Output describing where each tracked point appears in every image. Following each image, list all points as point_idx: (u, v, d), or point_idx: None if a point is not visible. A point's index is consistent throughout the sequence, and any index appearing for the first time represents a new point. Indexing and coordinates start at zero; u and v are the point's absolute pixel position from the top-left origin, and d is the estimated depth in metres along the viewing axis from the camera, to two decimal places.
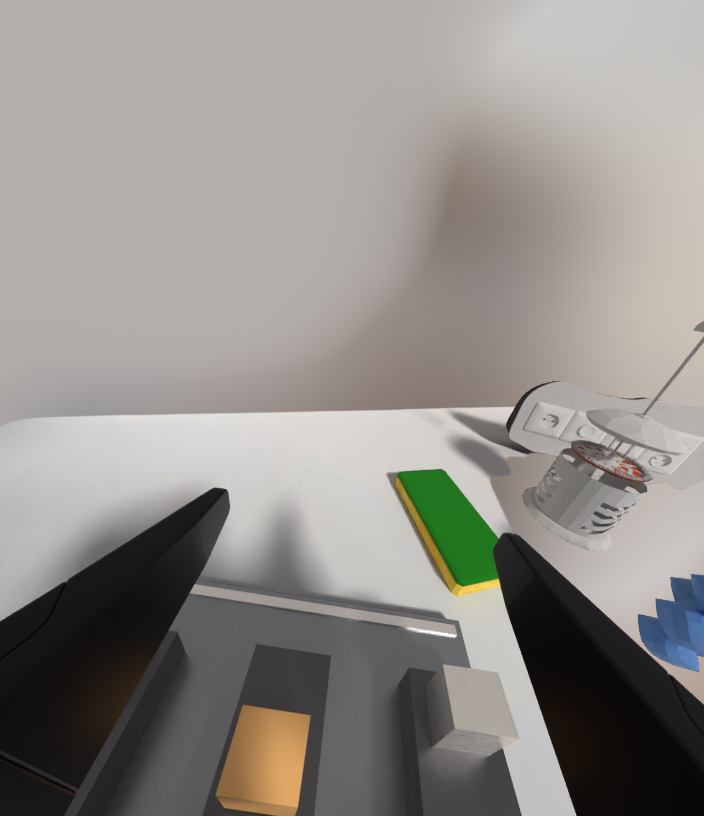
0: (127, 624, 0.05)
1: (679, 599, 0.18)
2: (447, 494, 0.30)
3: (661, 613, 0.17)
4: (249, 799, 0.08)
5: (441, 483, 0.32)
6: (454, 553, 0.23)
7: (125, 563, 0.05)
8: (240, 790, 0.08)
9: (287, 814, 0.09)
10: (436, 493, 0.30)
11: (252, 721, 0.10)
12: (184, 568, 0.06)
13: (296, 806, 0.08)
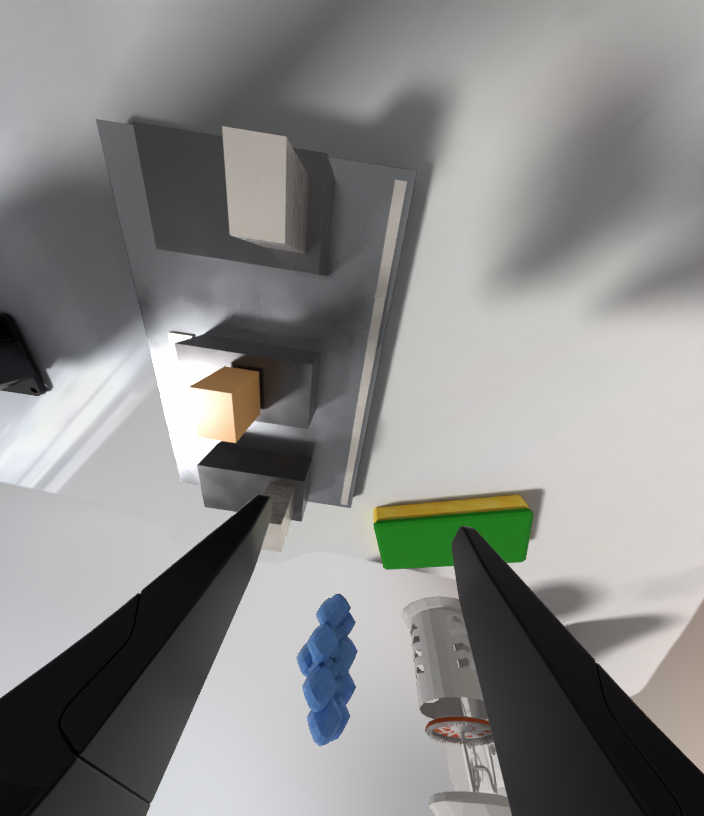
0: (197, 634, 0.05)
1: (339, 650, 0.26)
2: None
3: (329, 637, 0.24)
4: (192, 408, 0.12)
5: (497, 551, 0.24)
6: (402, 530, 0.23)
7: (190, 572, 0.05)
8: (194, 402, 0.12)
9: None
10: None
11: (224, 403, 0.12)
12: (239, 576, 0.06)
13: (198, 435, 0.13)
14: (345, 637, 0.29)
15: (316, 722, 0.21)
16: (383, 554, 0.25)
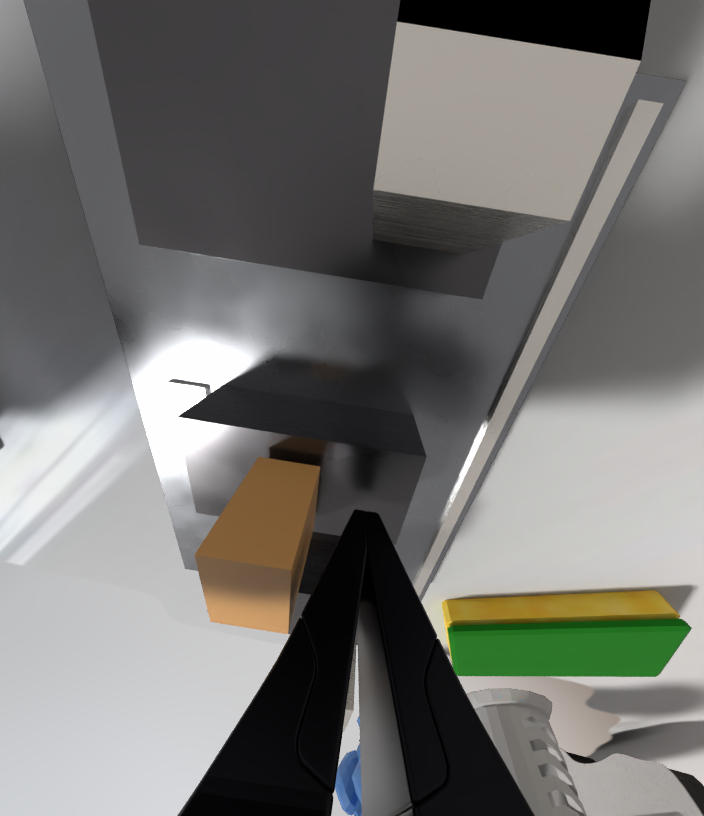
0: None
1: None
2: (593, 664, 0.17)
3: None
4: (203, 585, 0.06)
5: (621, 665, 0.17)
6: (489, 640, 0.17)
7: (332, 594, 0.05)
8: (206, 577, 0.05)
9: None
10: (602, 655, 0.16)
11: (273, 582, 0.05)
12: None
13: (212, 618, 0.06)
14: None
15: None
16: (457, 662, 0.18)
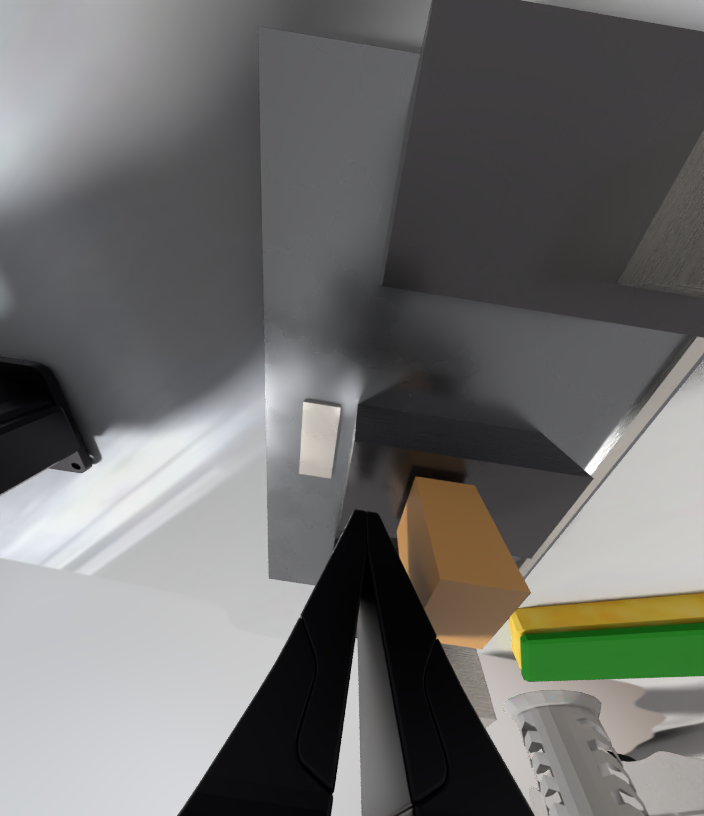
0: None
1: None
2: (667, 665, 0.18)
3: None
4: (425, 605, 0.06)
5: (695, 666, 0.17)
6: (563, 647, 0.17)
7: (332, 594, 0.05)
8: (436, 599, 0.06)
9: (401, 549, 0.09)
10: (677, 657, 0.17)
11: (502, 603, 0.06)
12: None
13: None
14: None
15: None
16: (528, 668, 0.19)
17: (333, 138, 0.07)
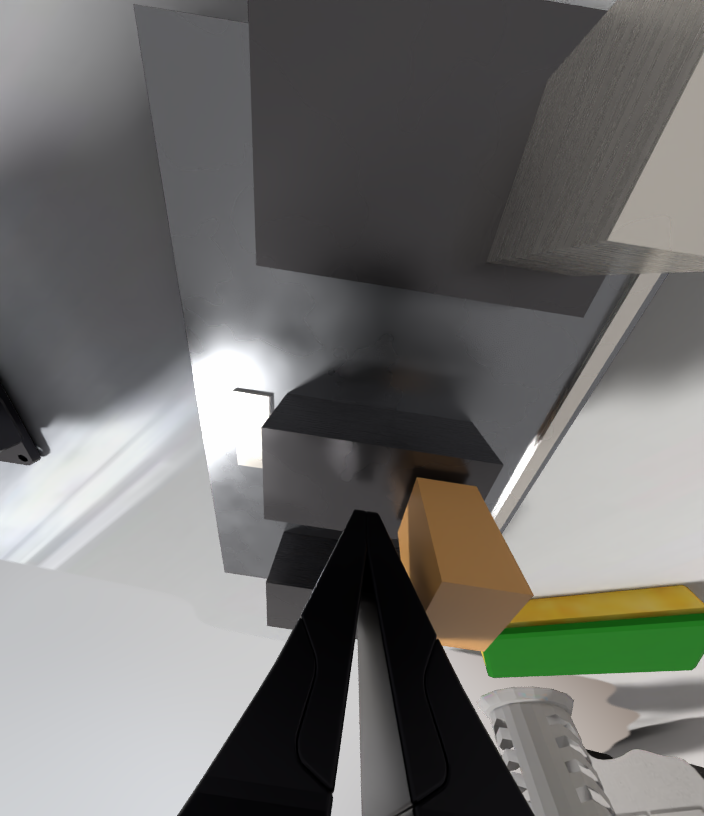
0: None
1: None
2: (627, 661, 0.17)
3: None
4: (427, 607, 0.06)
5: (655, 661, 0.17)
6: (520, 643, 0.17)
7: (332, 594, 0.05)
8: (438, 601, 0.06)
9: (402, 550, 0.08)
10: (635, 652, 0.17)
11: (505, 605, 0.06)
12: None
13: None
14: None
15: None
16: (490, 664, 0.19)
17: (224, 119, 0.07)
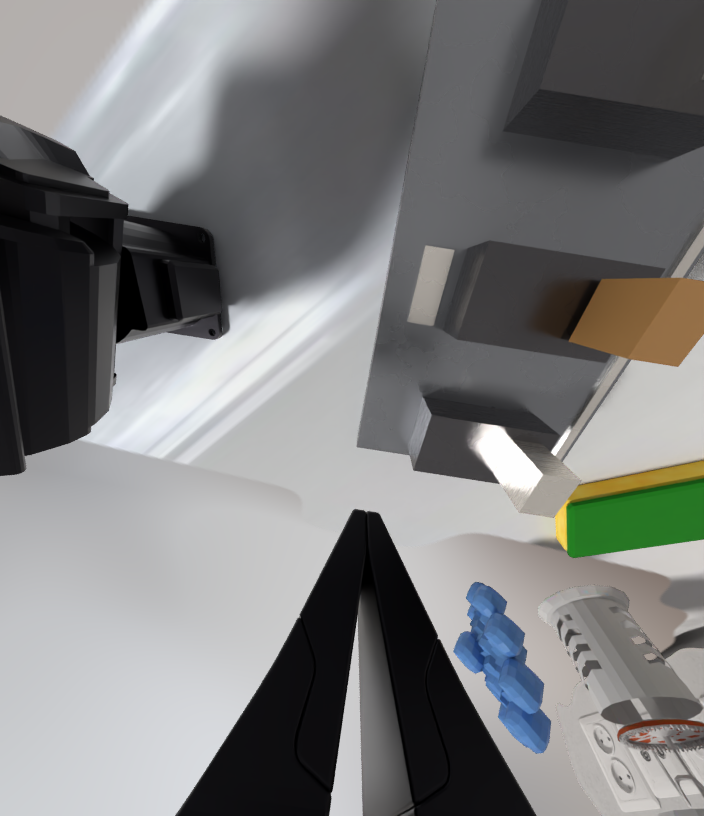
0: None
1: None
2: (698, 524, 0.20)
3: (516, 628, 0.21)
4: (657, 313, 0.09)
5: None
6: (605, 510, 0.20)
7: (331, 594, 0.05)
8: (669, 303, 0.09)
9: (585, 339, 0.11)
10: None
11: None
12: None
13: (627, 357, 0.10)
14: None
15: (529, 725, 0.18)
16: (574, 541, 0.22)
17: (490, 4, 0.10)
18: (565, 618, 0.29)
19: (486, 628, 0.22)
